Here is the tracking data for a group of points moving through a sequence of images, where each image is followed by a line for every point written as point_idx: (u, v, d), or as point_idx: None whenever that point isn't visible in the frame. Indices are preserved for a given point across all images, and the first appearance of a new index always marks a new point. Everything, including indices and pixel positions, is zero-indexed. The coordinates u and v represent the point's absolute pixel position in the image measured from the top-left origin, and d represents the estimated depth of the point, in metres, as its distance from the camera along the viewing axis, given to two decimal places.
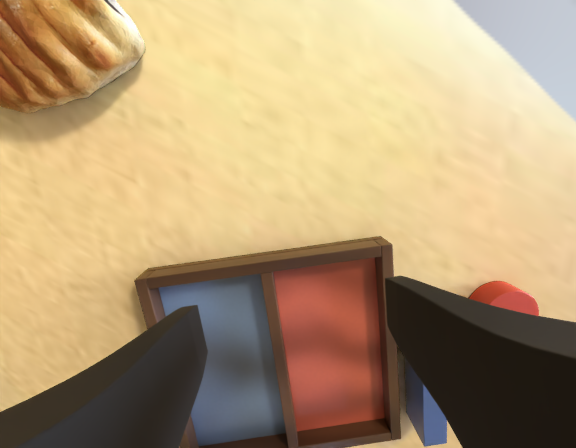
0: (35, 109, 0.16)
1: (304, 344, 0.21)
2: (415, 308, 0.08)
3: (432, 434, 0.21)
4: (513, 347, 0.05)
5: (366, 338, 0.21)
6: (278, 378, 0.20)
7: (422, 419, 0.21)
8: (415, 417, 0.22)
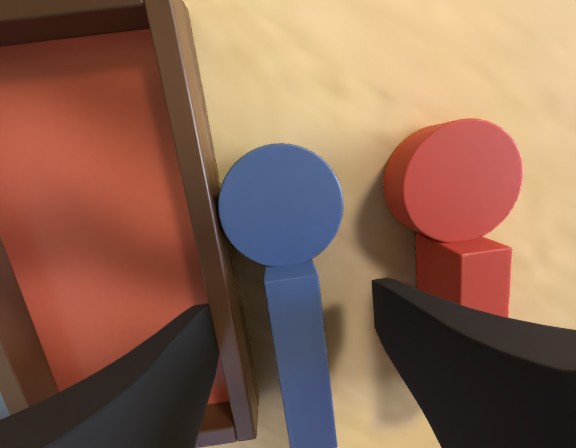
0: None
1: (47, 246, 0.10)
2: (399, 310, 0.08)
3: (304, 430, 0.10)
4: (485, 351, 0.05)
5: (176, 236, 0.11)
6: None
7: (282, 399, 0.10)
8: None
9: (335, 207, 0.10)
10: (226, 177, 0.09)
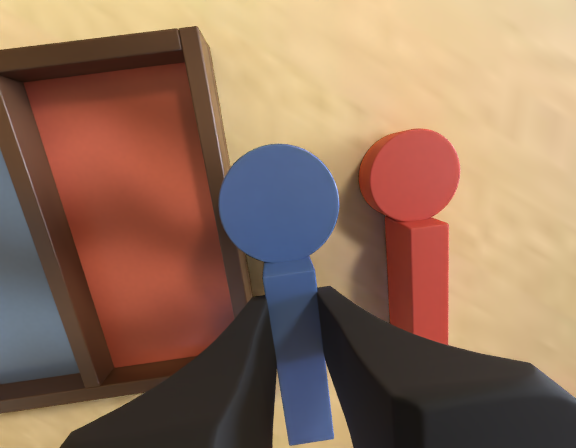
0: None
1: (101, 225, 0.14)
2: (327, 321, 0.08)
3: (302, 422, 0.11)
4: (363, 369, 0.05)
5: (199, 217, 0.14)
6: (45, 270, 0.13)
7: None
8: None
9: (331, 205, 0.10)
10: (226, 176, 0.10)
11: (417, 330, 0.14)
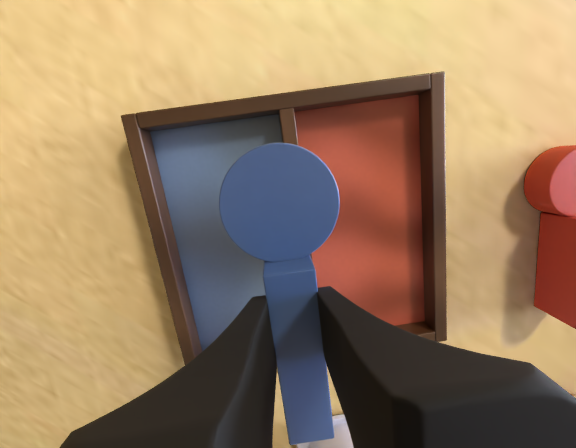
0: None
1: None
2: (327, 321, 0.08)
3: (302, 421, 0.11)
4: (363, 370, 0.05)
5: (405, 214, 0.18)
6: None
7: (281, 391, 0.10)
8: None
9: (332, 204, 0.10)
10: (226, 175, 0.10)
11: None
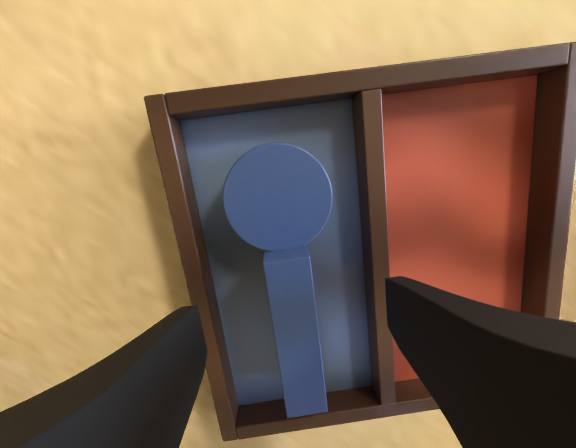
0: None
1: (410, 240, 0.14)
2: (415, 308, 0.08)
3: (299, 396, 0.12)
4: (513, 347, 0.05)
5: (505, 232, 0.14)
6: (375, 287, 0.13)
7: (279, 368, 0.11)
8: None
9: (325, 198, 0.11)
10: (230, 172, 0.11)
11: None
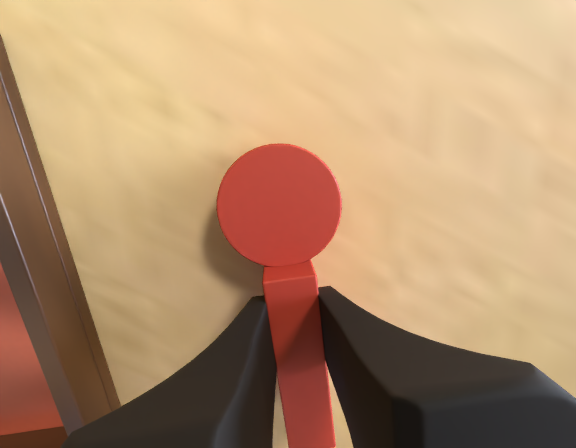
0: None
1: None
2: (327, 321, 0.08)
3: None
4: (363, 370, 0.05)
5: None
6: None
7: None
8: None
9: None
10: None
11: (288, 413, 0.10)
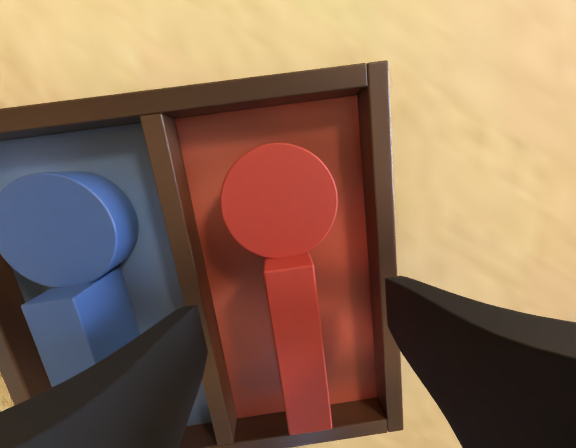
0: None
1: (241, 269, 0.13)
2: (415, 308, 0.08)
3: None
4: (513, 347, 0.05)
5: (345, 261, 0.13)
6: None
7: None
8: None
9: (107, 232, 0.10)
10: None
11: (287, 396, 0.11)
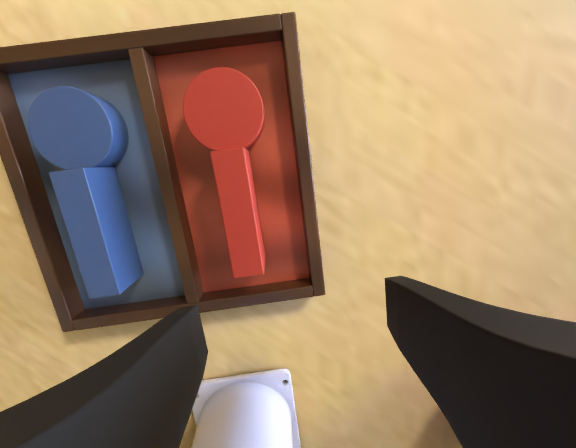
0: None
1: (203, 171, 0.17)
2: (415, 308, 0.08)
3: (94, 280, 0.16)
4: (513, 348, 0.05)
5: (279, 166, 0.18)
6: (165, 204, 0.17)
7: (77, 258, 0.15)
8: None
9: (106, 129, 0.15)
10: (30, 108, 0.15)
11: (230, 246, 0.15)
